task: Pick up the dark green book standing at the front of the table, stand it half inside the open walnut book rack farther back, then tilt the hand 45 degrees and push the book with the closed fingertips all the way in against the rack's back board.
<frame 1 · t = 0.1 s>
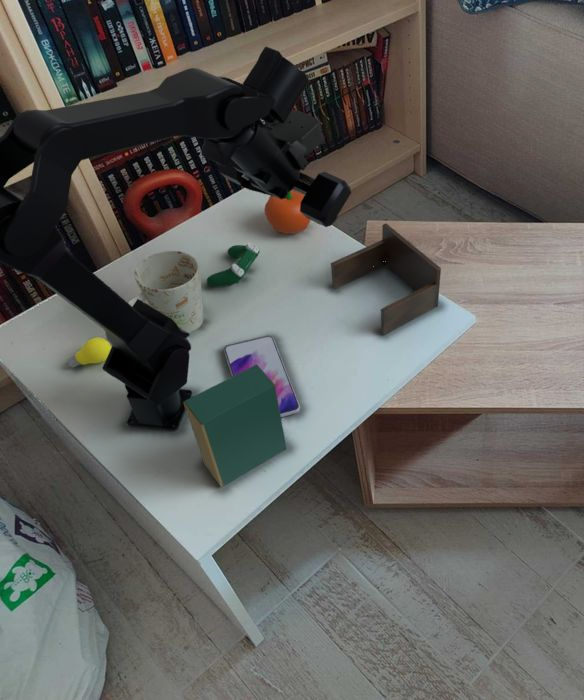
hand: (309, 207, 97), 15 cm above the table, tool tilted 35°, fingers open, 9 cm apart
book: (247, 457, 85), on the table
smartphone: (261, 381, 94), on the table
mug: (171, 329, 99), on the table
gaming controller: (236, 274, 108), on the table
light bulb: (86, 344, 93), point 1 cm above the table
book rack: (384, 296, 108), on the table
pumpkin: (288, 229, 117), on the table
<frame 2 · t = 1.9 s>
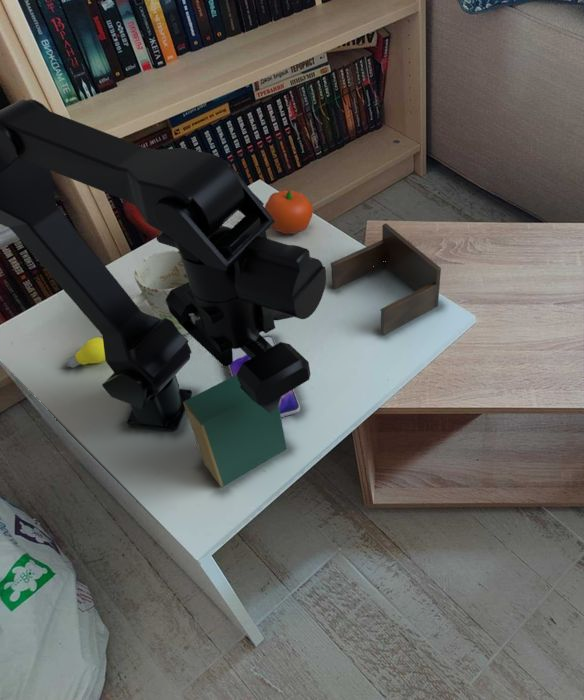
hand: (249, 386, 77), 13 cm above the table, tool pointing down, fingers open, 9 cm apart
nothing on the table moved.
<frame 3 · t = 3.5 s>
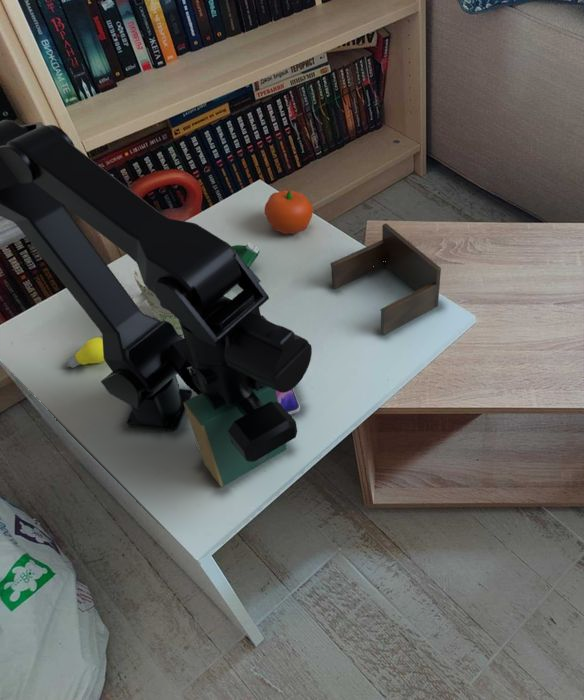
hand: (241, 434, 82), 5 cm above the table, tool pointing down
book: (247, 457, 85), on the table, touching gripper
everything else where it was.
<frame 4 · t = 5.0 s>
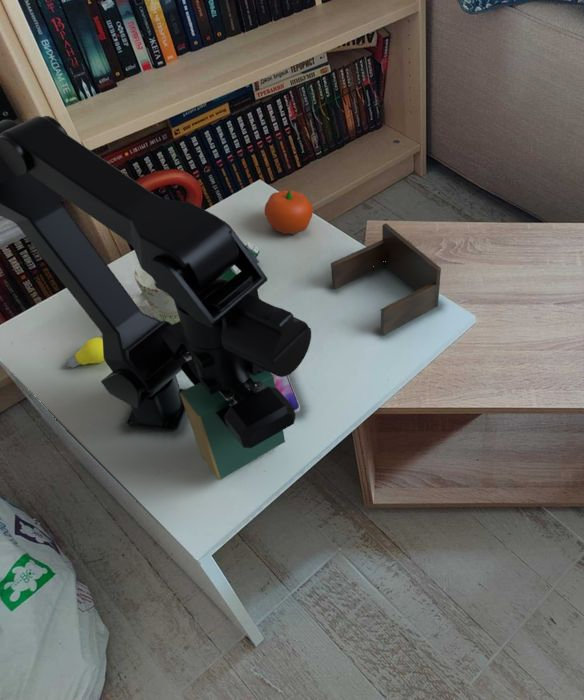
hand: (238, 421, 80), 8 cm above the table, tool pointing down, fingers closed on book, 4 cm apart
book: (245, 449, 84), point 2 cm above the table, touching gripper
everything else where it was.
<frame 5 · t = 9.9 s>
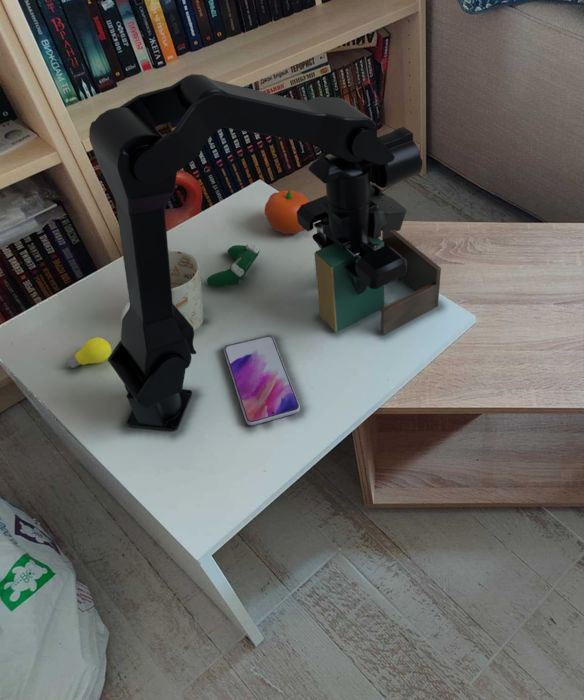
hand: (352, 284, 100), 6 cm above the table, tool pointing down, fingers closed on book, 4 cm apart
book: (353, 312, 105), on the table, touching gripper
everything else where it was.
when the fingers open (6 cm above the table, at t = 10.1 s): book stays where it is, on the table.
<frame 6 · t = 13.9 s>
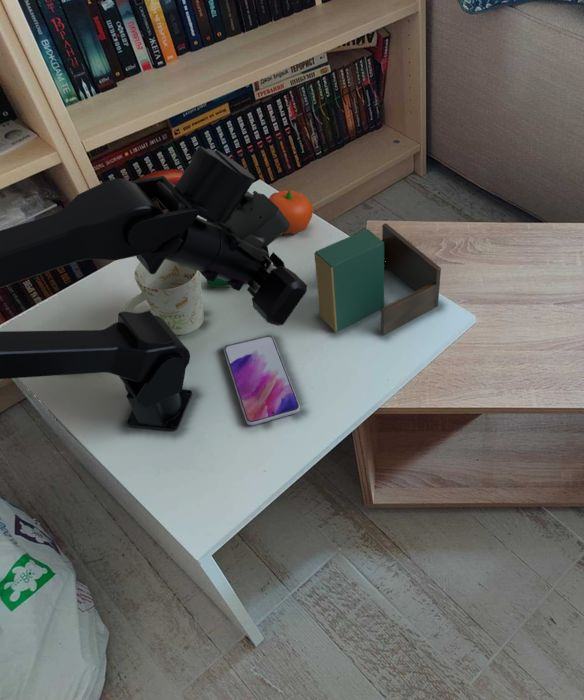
hand: (293, 282, 92), 11 cm above the table, tool tilted 45°, fingers closed
book: (353, 312, 105), on the table
everything else where it was.
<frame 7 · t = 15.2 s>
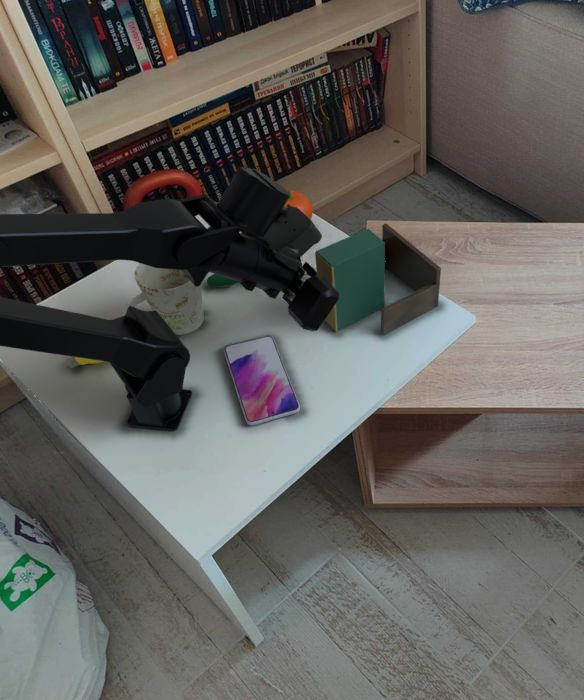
hand: (323, 288, 97), 8 cm above the table, tool tilted 45°, fingers closed, pressing on book
book: (353, 312, 105), on the table, touching gripper
everything else where it was.
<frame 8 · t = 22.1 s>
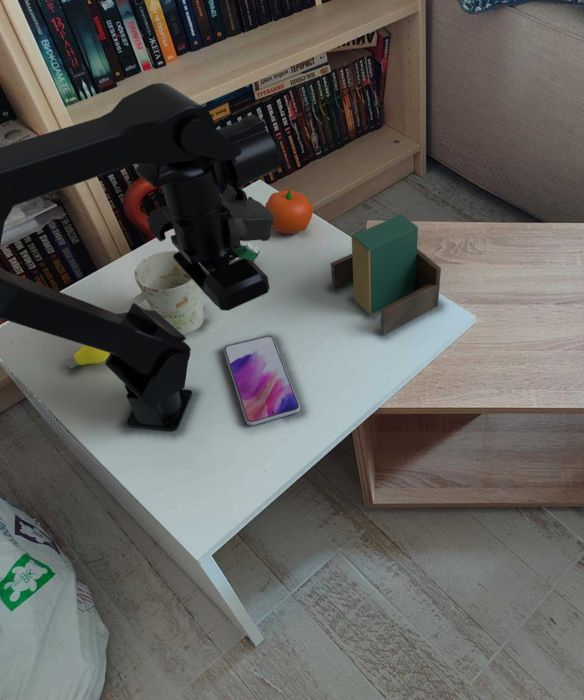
hand: (219, 302, 87), 12 cm above the table, tool pointing down, fingers closed
book: (385, 296, 108), on the table
everything else where it was.
at the end: book 0.1 cm off-centre on the book rack, point 0.0 cm above the book rack's base; book tilted 0°; the gripper is holding nothing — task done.
